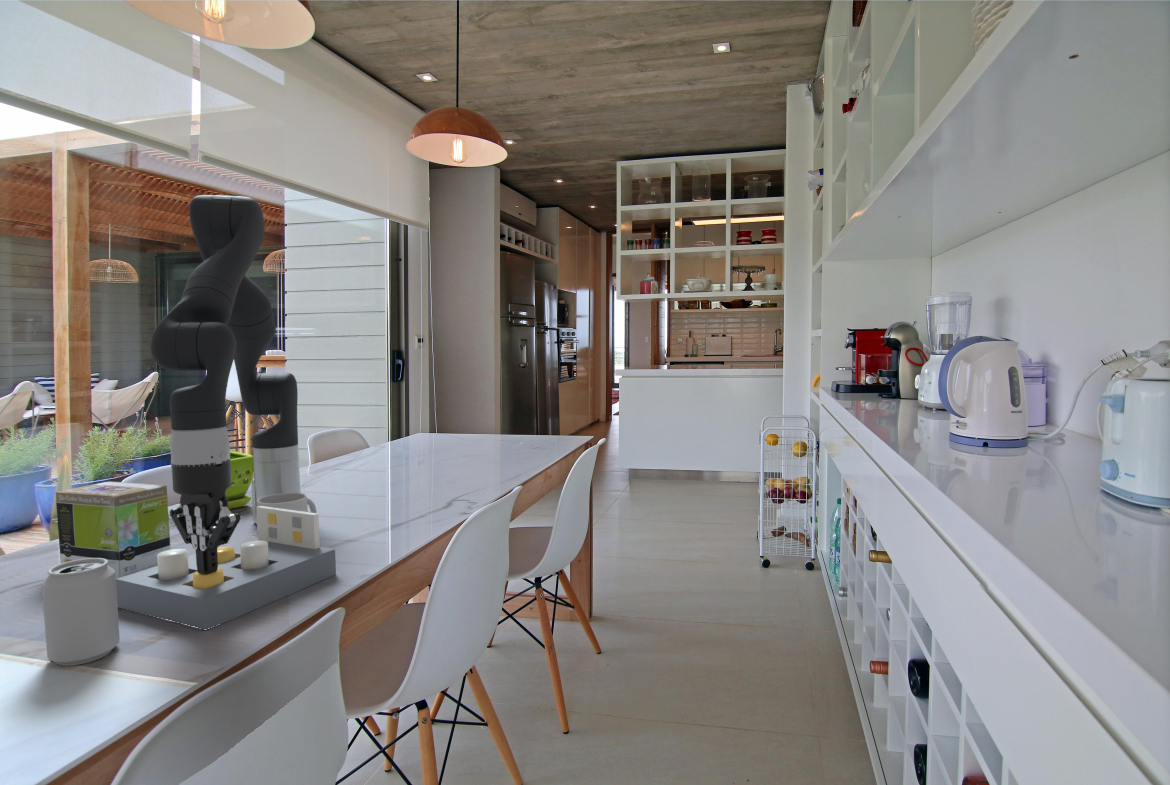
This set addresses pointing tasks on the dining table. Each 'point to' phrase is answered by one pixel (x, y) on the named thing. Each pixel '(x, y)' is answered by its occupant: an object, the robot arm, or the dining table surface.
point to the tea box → (114, 524)
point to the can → (80, 611)
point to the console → (237, 575)
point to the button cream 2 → (254, 555)
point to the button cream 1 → (172, 564)
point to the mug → (288, 502)
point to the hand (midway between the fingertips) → (207, 572)
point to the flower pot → (239, 479)
